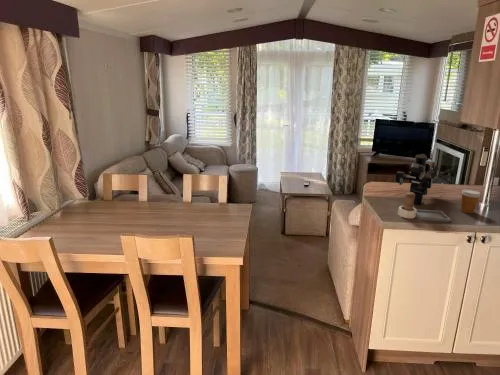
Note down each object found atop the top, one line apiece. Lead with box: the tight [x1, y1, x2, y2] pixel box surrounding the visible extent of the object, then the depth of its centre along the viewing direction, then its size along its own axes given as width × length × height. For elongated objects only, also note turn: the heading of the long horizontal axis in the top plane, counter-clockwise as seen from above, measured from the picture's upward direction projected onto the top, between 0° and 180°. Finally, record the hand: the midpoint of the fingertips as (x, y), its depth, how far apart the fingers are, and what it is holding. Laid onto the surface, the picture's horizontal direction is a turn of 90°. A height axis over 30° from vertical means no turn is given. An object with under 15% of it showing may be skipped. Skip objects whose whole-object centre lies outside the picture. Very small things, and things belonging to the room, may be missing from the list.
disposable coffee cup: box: [460, 188, 481, 214], centre depth 212 cm, size 10×10×12 cm
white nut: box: [397, 205, 418, 219], centre depth 203 cm, size 8×8×4 cm
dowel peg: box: [402, 191, 415, 211], centre depth 202 cm, size 5×5×12 cm
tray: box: [415, 208, 451, 223], centre depth 203 cm, size 12×15×2 cm
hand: (408, 185), depth 202 cm, fingers open, 9 cm apart
